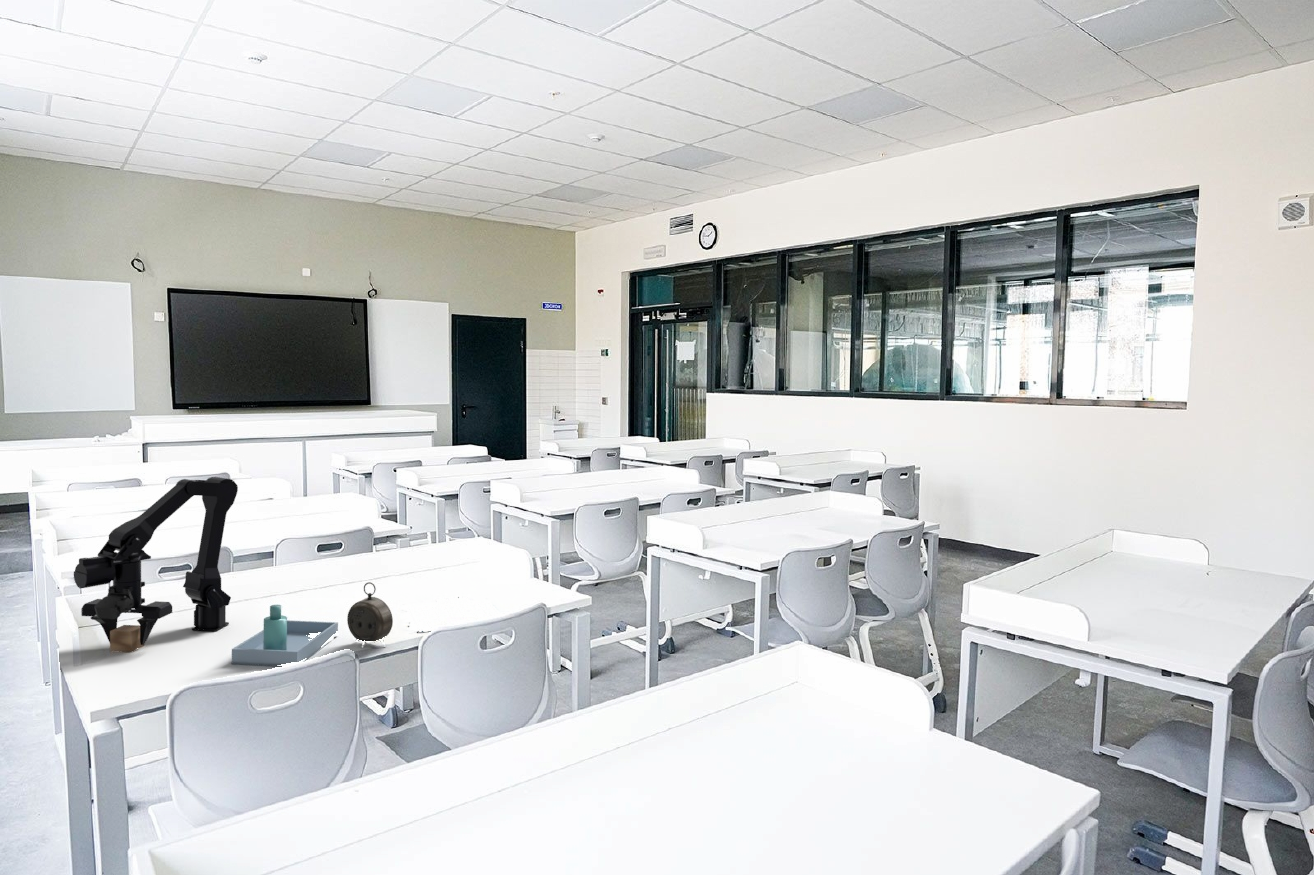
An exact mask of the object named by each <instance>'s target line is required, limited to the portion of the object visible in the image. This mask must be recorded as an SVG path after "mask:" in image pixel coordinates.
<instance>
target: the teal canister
mask: <svg viewBox="0 0 1314 875" xmlns="http://www.w3.org/2000/svg"><path fill="white" fill-rule="evenodd" d="M287 620H288V617H287V616H286V615H282V605H281V604H272V605H270V606H269V616H266V617H264V618H263V630H264V637H263V650H286V651H287Z"/></svg>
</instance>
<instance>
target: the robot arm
mask: <svg viewBox="0 0 1314 875" xmlns="http://www.w3.org/2000/svg"><path fill="white" fill-rule="evenodd" d="M238 488H239V487H238V484H237V483H236V482H235V480H233V479H231V478H225V477H220V476H211V477H208V478H207V479H186V478H183V479H179V481H177V482H176V484H175V485H174V486H172V488H171V489H170V490H168V491H167V492H166V493H165V494H164V495H162V496H161V497H160V498H159V499H158V500H156V502H154V503H153V504H152V505H151V506H150V507H148V508H147V509H146V510H145V511H144V512H143V513H141V514H140V515H139V516H137V517H135V518H133V519H130V520H127V521H126V522H124V523H123V524H120V525H119V526H117V527H115V528H114V529H112V531H110V533H109V535H108V540H107V541H106V543H105V544H104V545H103V547H102V548H101V549H100V551H99V552H97V556H92V557H81V558H79V559H78V564H76V565H75V569H74V571H73V580H74V583H75V585H76V587H77V588H79V589H86V588H87V589H88V588H92V587H98V586H103V585H109V584H110V583H111V582H112V585H110V586H109V587H108V592H107V595H106V596H104V597H102V598H97V599H94V600H90V601H89V602H85V603H84V604H83V605H82V607H81V611H80V612H81V617H90V619H91V620H92V621H93V620H94V621H96V622H97V623H98V624H100V625H101V627H102V629H103V632H104V633H105V635H106V638H107V640H108V642H109V643H110V631H111V630H114V629H116V628H118V618H119V617H120V616H121V615H122V614H141V618H137V619H136V621H137V622H138V624H139V625H140V643H141V645H144V646H145V644H147V643H146V642H147V640H148V638H149V636H150V634H151V632H152V630H153V629H154V626H155V625H156V623H157V621H158V620H159V619H162V618H164V617H166V616H168V615H170V614H173V605H172V603H171V602H170V601H158V600H157V601H156V600H155V601H154V602H151V603H149V604H146V599H145V598H144V597H143V598H142V588H143V587H145V585H146V581H142V561H147V560H151V559H152V556H151V555H149V554H148V553H146V551H145V550H144V548H145V547H146V545H147V544H148V543H149V542H150V541H151V540H152V537H153V535H154V534H155V531H156V530H157V528H159V526H161V525H162V524H163V523H164V522H165V521H166V520H167V519H169V518H170V517H171V516H172V515H173V514H174V513H176V511H178V510H179V509H180V508H181V507H182V506H184V504H186V503H187V502H188V501H189V500H191V499H192V497H194V496H198V497H199V496H201V499H202V500H201V501H202V502H203V505H204V506H203V507H204V509H205V513H204V519H203V526H202V532H201V538H200V543H199V547H198V548H199V549H198V553H197V554H198V555H197V560H196V565H195V567H194V568H193V570H192V571H186V573H185V581H184V583H183V586H182V588H184V593H185V595H186V596H187V597H188V598H190V599H191V603H192V604H194V605H195V610H193V627H192V628H191V631H203V632H204V631H205V632H207V631H208V632H217V631H220V630H221V629H223V628H224V627H227V626H228V625H229V623H230V622H229V621H226V620H227V619H226V615H227V614H226V613H227V612H226V606H229V605H230V601H231V598H232V597H231V596H230V595H229V594H228V593H226V591H223V590H222V577H221V573H220V571H219V567H218V566H219V561H220V560H219V559H220V556H221V555H220V554H221V547H222V542H223V535H224V532H225V531H224V528H225V523H226V519H227V518H226V517H227V513H228V511H229V510H230V509H231V508H232V506H233V504H234V503H235V500H236V497H237V495H238V491H239V489H238ZM116 551H117V552H116ZM144 603H145V604H146V605H145V604H144ZM142 604H143V605H142Z"/></svg>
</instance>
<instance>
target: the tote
mask: <svg viewBox="0 0 1314 875" xmlns="http://www.w3.org/2000/svg"><path fill="white" fill-rule="evenodd" d="M336 631H338V632H339V622H336V621H335V622H332V621H311V620H290V619H287V651H286V650H263V637H264V629H262V630H261V631H259V632H257V633H256V634H253V636H251V637H249V638H248V639H246V640H244V641H243V642H241V643H240V644H238V645H236V646H234V647H232V648H231V665H236V666H237V665H239V666H240V665H242V666H261V667H262V666H263V667H265V666H266V667H278V666H277V665H281V664H286V663H291V662H299V661H301V660H303V659H305V658H308V657H310V658H311V657H312V656H313V655H315V654H316V653H318V652H319V651H320V650H321V649H320V648H321V646H322V645H323V644H324V643H325V642H326V641H327V640H328V639H329V638H330V637H331V636H332V635H333V634H335V633H336ZM318 632H321V633H320V634H319V635H317V636H316V637H315V638H313V639H312V638H310V637H308V635H310V634H309V633H318ZM306 635H307V636H306ZM308 639H312V640H310V641H309V640H308ZM319 649H320V650H319ZM318 650H319V651H318ZM317 651H318V652H317ZM308 659H309V658H308Z"/></svg>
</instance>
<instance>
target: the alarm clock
mask: <svg viewBox="0 0 1314 875" xmlns="http://www.w3.org/2000/svg"><path fill="white" fill-rule="evenodd" d="M367 585H372V587H373V592H369V593H368V592H366V591H367V590H366V586H367ZM376 590H377V588H376V585H375V584H374V583H373V582H370V581H368V582H366V583H365V584H364V586H363V592H364V593H365V594H366V595H367V597H365V598H364V599H361V600H359V601H357V602H355V603H353V605H351V607H350V608H349V610H348V612H347V619H346V620H347V626H348V629H349V632H350V634H351V635H352V636H353V637H354V638H355V640H357V639H359V640H362V641H364V640H365V641H376V640H378V641H380V640H379V639H382V638H383V637H384V638H386V637H387V636H388V635H389V634H390V632H391V630H392V627H393V623H394V622H393V614H392V611H391V609H390V607H389V606H388V605H387V604H386V602H385V601H383V600H382V599H381V598H379V597H376V596H373V595H374V594H375V593H376ZM385 636H386V637H385ZM384 638H383V639H384ZM359 640H358V641H359ZM376 642H377V641H376Z"/></svg>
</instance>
